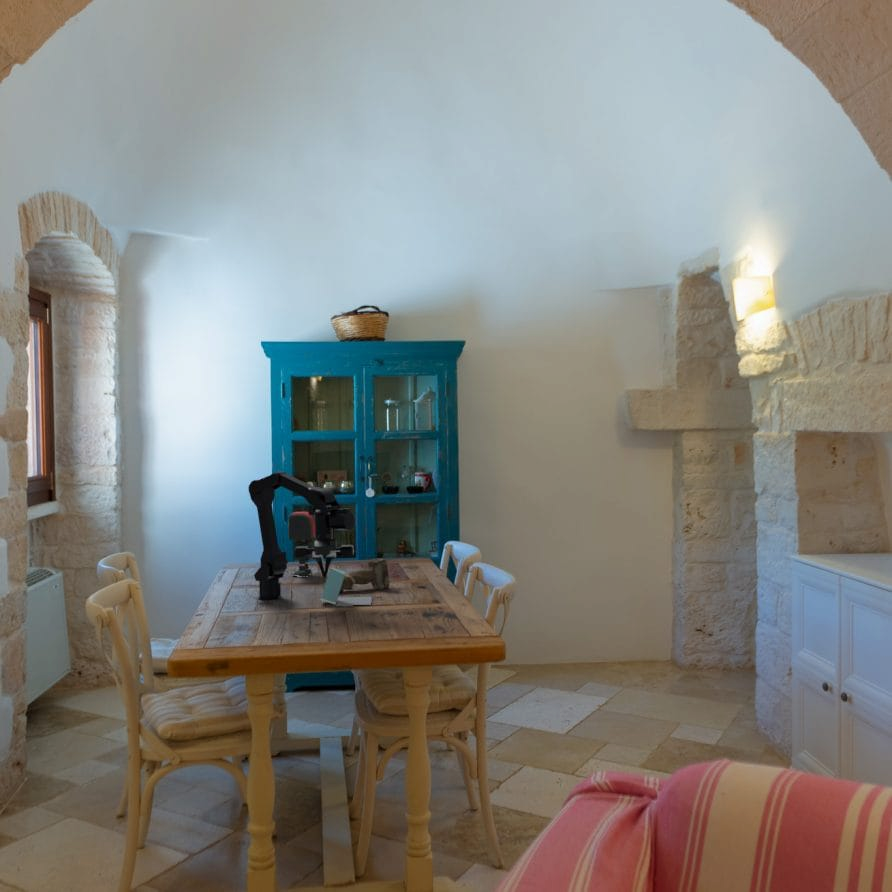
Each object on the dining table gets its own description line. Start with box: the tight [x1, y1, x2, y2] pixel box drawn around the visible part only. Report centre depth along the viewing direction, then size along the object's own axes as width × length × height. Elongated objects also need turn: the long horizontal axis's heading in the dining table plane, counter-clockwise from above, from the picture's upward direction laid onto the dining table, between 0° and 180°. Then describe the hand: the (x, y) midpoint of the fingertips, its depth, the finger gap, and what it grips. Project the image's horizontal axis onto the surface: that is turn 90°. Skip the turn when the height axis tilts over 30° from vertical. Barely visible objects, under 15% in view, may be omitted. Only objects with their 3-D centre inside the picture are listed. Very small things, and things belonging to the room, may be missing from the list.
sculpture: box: [323, 557, 390, 593], centre depth 290 cm, size 8×22×15 cm
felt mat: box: [335, 596, 373, 607], centre depth 269 cm, size 11×12×1 cm
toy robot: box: [287, 500, 315, 576], centre depth 322 cm, size 22×9×30 cm, turn 178°
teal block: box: [319, 567, 346, 605], centre depth 269 cm, size 5×5×10 cm
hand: (324, 577), depth 268 cm, fingers closed
